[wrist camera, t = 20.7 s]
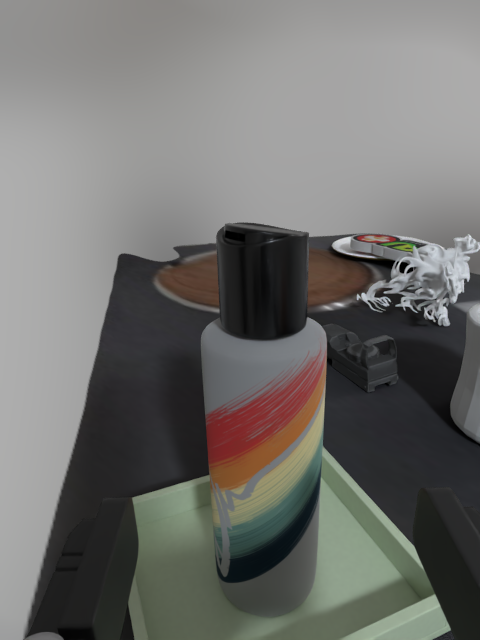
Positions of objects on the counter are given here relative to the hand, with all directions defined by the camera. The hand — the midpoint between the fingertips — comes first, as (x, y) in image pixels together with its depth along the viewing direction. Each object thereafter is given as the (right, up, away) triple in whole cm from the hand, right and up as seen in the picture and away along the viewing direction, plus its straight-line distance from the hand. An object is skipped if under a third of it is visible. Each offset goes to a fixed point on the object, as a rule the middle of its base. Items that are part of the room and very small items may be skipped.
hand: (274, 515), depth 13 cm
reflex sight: (+11, 0, +37) cm, 38 cm away
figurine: (+22, +16, +46) cm, 54 cm away
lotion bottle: (+1, -9, +13) cm, 16 cm away
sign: (+34, +20, +75) cm, 84 cm away
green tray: (0, -9, +14) cm, 17 cm away
